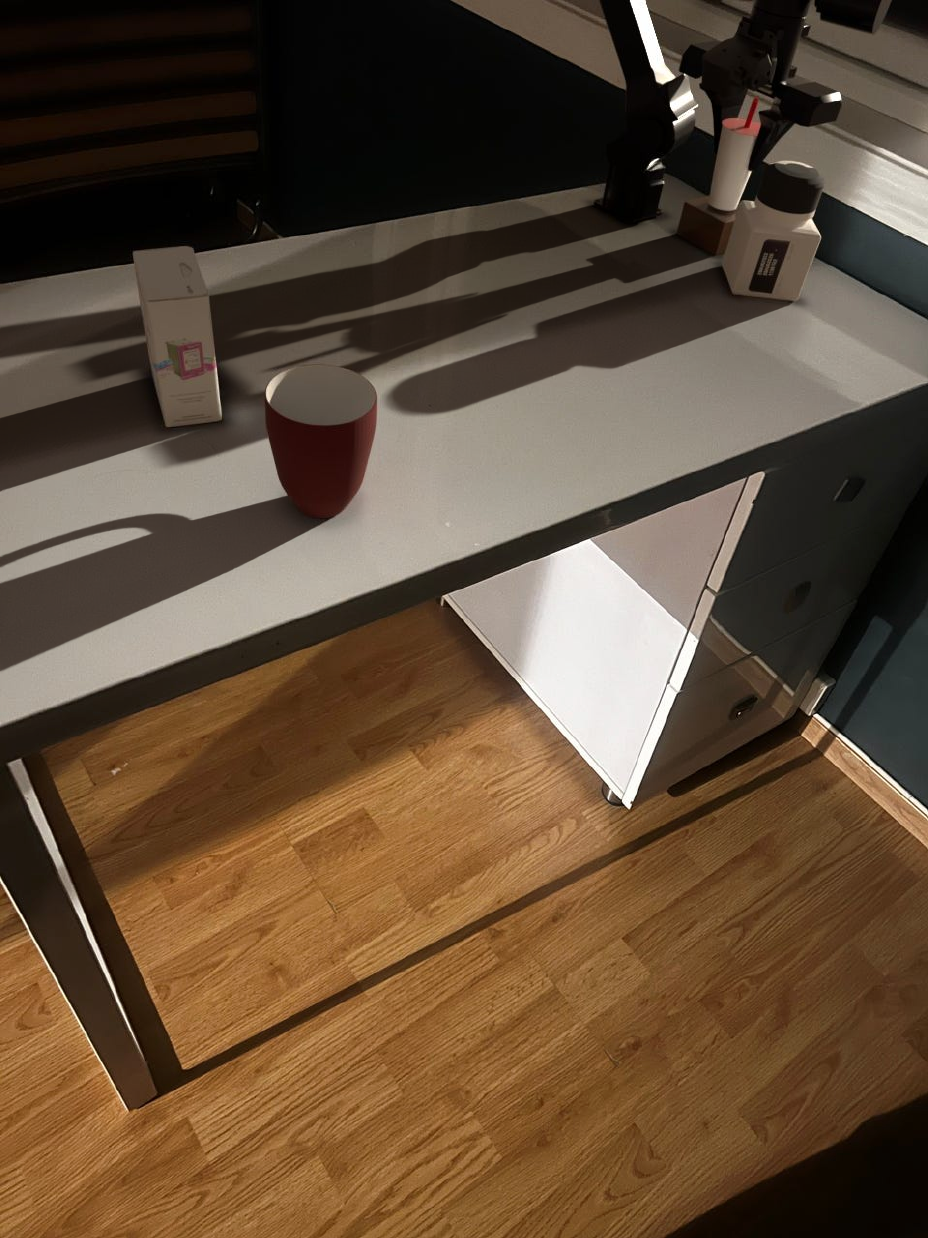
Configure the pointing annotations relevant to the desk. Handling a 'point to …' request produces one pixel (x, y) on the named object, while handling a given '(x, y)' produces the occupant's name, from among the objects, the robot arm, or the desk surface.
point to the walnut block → (706, 225)
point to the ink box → (178, 334)
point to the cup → (733, 160)
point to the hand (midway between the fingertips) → (734, 161)
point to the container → (775, 234)
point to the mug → (320, 434)
